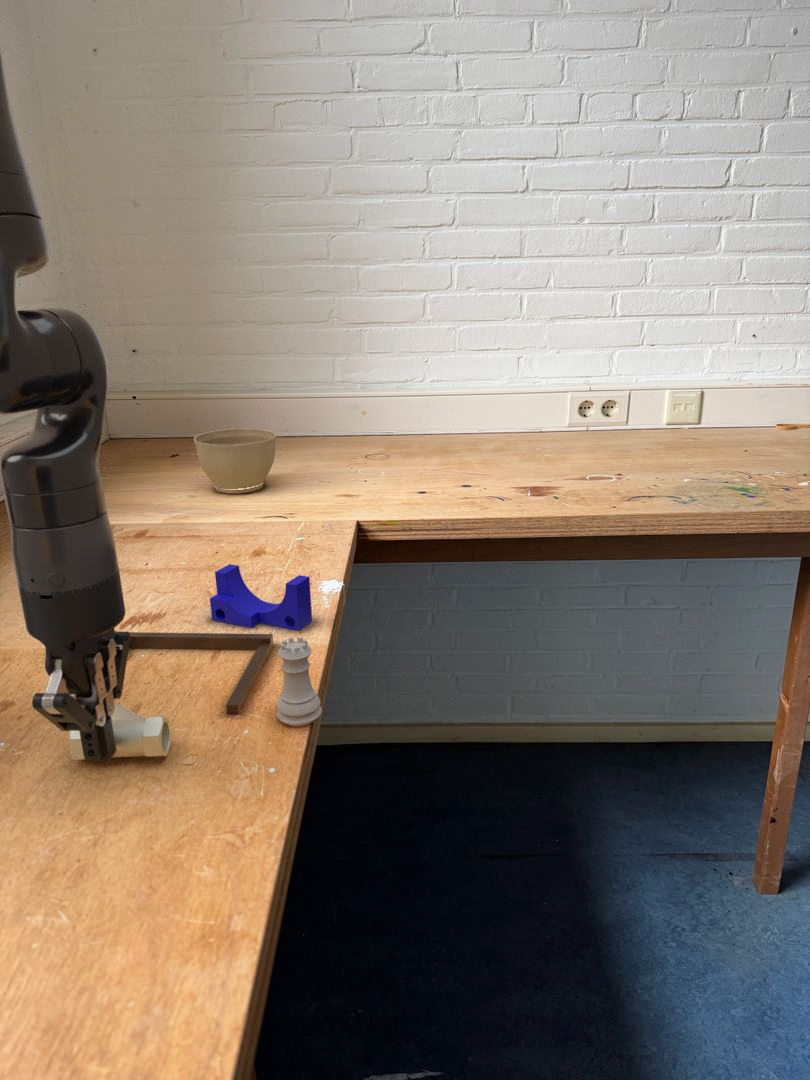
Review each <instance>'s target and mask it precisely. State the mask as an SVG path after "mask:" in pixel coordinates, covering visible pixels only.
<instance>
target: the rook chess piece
mask: <svg viewBox="0 0 810 1080" xmlns="http://www.w3.org/2000/svg"><path fill="white" fill-rule="evenodd" d="M312 652H313V649H312V648H311V646H309V644H308V640H307V639H304V637H301V636H297V640H296V641H295V639H294V637H293V636H291V637H288V641H287V640H286V639H283V640H282V641H281V643H280V648H279V649H278V651H277V656H278V657H279V658H280V659H281V660H282V664H281V667H280V669H281V670H282V671H283V686H282V691H281V692H280V694H279V697H278V699H277V703H276V705H275V707H276V714H275V715H276V717H277V719H278V720H279V721H280V723H283V724H284V725H286V726H289V727H304V726H308V725H310V724H312V723H315V722H316V721H317V719H318V718H319V717H320V716H321V715H322V711H323V708H322V707H321V703H322V701H321V699H320V697H319V695H318V693H316V690H315V689H314V688H313V685H312V682H311V676H310V668H311V663H310V661H309V659H308V658H309V657H310V656H311V654H312Z"/></svg>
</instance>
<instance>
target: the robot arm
mask: <svg viewBox="0 0 810 1080" xmlns="http://www.w3.org/2000/svg"><path fill="white" fill-rule="evenodd" d="M3 62H4V61H3V55H2V47H0V415H4V416H5V415H15V414H21V413H25V412H30V411H35V410H36V413H35V420H34V424H33V428H32V430H31V431H30V432H29V433H28V435H27V436H25V437H24V438H21V439H20V440H19V441H17V442H16V443H14V444H12V445H11V446H9V447H7V448H6V449H5V450H4V451H3V452H2V454H1V456H0V480H1V481H0V482H1V486H2V491H3V497H4V502H5V507H6V512H7V517H8V522H9V529H10V546H11V557H12V561H13V566H14V572H15V577H16V583H17V587H18V592H19V597H20V602H21V608H22V612H23V618H24V623H25V628H26V631H27V633H28V634H29V635H30V636H31V637H32V638H34V639H36V640H37V641H39V642H40V643H41V644H42V645H43V646H44V647H45V660H44V668H45V672H46V674H47V675H48V677H49V679H48V681H47V685H46V688H45V691H44V692H36V693H35V694H34V695H33V697H32V701H31V705H32V708H33V709H34V710H35V711H37V713H39V714H40V715H41V716H43V717H44V718H45V719H46V720H48V721H49V722H50V723H51V724H52V725H54V726H55V727H56V728H57V729H59V730H60V731H61V732H70V731H79V732H80V737H81V743H82V748H83V754H84V758H85V759H84V760H85V761H86V762H87V763H89V764H107V763H109V762H110V760H111V759H112V758H113V757H112V756H113V755H114V754H115V752H116V744H115V738H114V732H113V726H112V720H111V716H112V715H113V713H114V709H115V706H114V703H115V700H120V699H121V698H122V696H123V690H124V683H125V682H124V681H125V676H126V675H125V674H126V668H127V662H128V657H129V656H128V655H129V651H130V650H129V649H130V648H129V643H130V633H129V632H130V631H119V630H115V628H116V627H117V626H119V625H120V624H121V623H122V622H123V621H124V619H125V615H126V606H125V600H124V599H125V598H124V592H123V585H122V579H121V573H120V567H119V561H118V560H119V559H118V553H117V547H116V541H115V536H114V531H113V528H112V525H111V523H110V519H109V515H108V511H107V505H106V498H105V492H104V484H103V479H102V471H101V467H100V454H101V446H102V442H103V441H102V440H103V434H104V426H105V425H104V424H105V423H104V422H105V414H106V405H107V398H108V397H107V396H108V388H109V367H108V360H107V354H106V352H105V348H104V345H103V342H102V340H101V339H100V337H99V334H98V333H97V332H96V330H95V328H94V327H93V326H92V324H91V323H90V322H89V321H88V320H87V319H86V318H85V317H84V316H82V315H81V314H79V313H78V312H75V311H73V310H71V309H68V308H61V307H60V308H59V307H51V308H37V309H36V308H35V309H20V310H18V309H17V305H16V304H17V303H16V288H17V287H16V286H17V285H16V284H17V279H20V278H23V277H26V276H29V275H32V274H34V273H36V272H39V271H41V270H42V269H43V268H45V266H46V265H47V264H48V262H49V260H50V256H51V254H50V253H51V248H50V242H49V239H48V233H47V230H46V227H45V224H44V221H43V217H42V213H41V210H40V207H39V203H38V200H37V197H36V192H35V190H34V187H33V183H32V181H31V176H30V173H29V170H28V167H27V163H26V159H25V156H24V154H23V150H22V145H21V142H20V139H19V135H18V131H17V128H16V123H15V118H14V115H13V111H12V106H11V101H10V96H9V92H8V87H7V81H6V80H7V79H6V74H5V69H4V63H3ZM111 757H112V758H111Z"/></svg>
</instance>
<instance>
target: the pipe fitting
mask: <svg viewBox="0 0 810 1080" xmlns="http://www.w3.org/2000/svg"><path fill="white" fill-rule="evenodd" d="M114 706H115V709H114V713H113V715H112V716H111V720H112V726H113V732H114V738H115V744H116V752H115V754H114V755H113V756H112V757H111V759H112V758H132V757H133V758H134V757H146V758H147V757H148V758H150V757H152V758H153V757H154V758H155V757H167V756H168V754H169V751H170V748H171V747H170V746H171V740H172V736H171V735H172V731H171V730H172V729H171V723H170V719H169V718H168V717H167V716H150V717H147V718H145V717H143V716H141V715H139V714H138V713H136V712H134V711H132V710H131V709H129V708H127V707H125V706H124V705H122V704H120V703H118V702H114ZM68 747H69V748H68V749H69V754H70V757H71V760H73V761H76V760H81V761H82V760H83V761H84V760H85V758H84V754H83V748H82V743H81V737H80V732H79V731H69V738H68Z"/></svg>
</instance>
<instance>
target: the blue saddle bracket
mask: <svg viewBox="0 0 810 1080" xmlns="http://www.w3.org/2000/svg"><path fill="white" fill-rule="evenodd" d="M214 577H215V587H216V594H215V595H213V596H211V597H209V603H210V605H209V606H210V614H211V621H214V622H219V623H224V624H229V625H235V626H239V627H244V628H248V629H249V628H250V629H252V628H253V627H256V626H257V625H259V624H261V625H266V626H271V627H276V628H282V629H287V630H292V631H297V632H300V631H302V630H303V629H304V628H306V627H307V626H308V625H310V624H312V622H313V614H312V613H313V612H312V598H311V597H312V595H311V581H310V576H307V575H301V574H298V575H297V576H295V577H294V578H292V579H291V580H289V581H287V582H286V583H285V591H284V596H283V599H282V600H281V602H279V603H271V602H268V601H265V600H263V599H260V598H259V597H257V595H255V594H254V593H253V592H252V591H251V590H250V589H249V588H248V586H247V585H246V583H245V581H244V579H243V577H242V574H241V570H240V565H237V564H230V563H229V564H227V565H225V566H224V567H221V568H219V569H218V570H216V571H214Z"/></svg>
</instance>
